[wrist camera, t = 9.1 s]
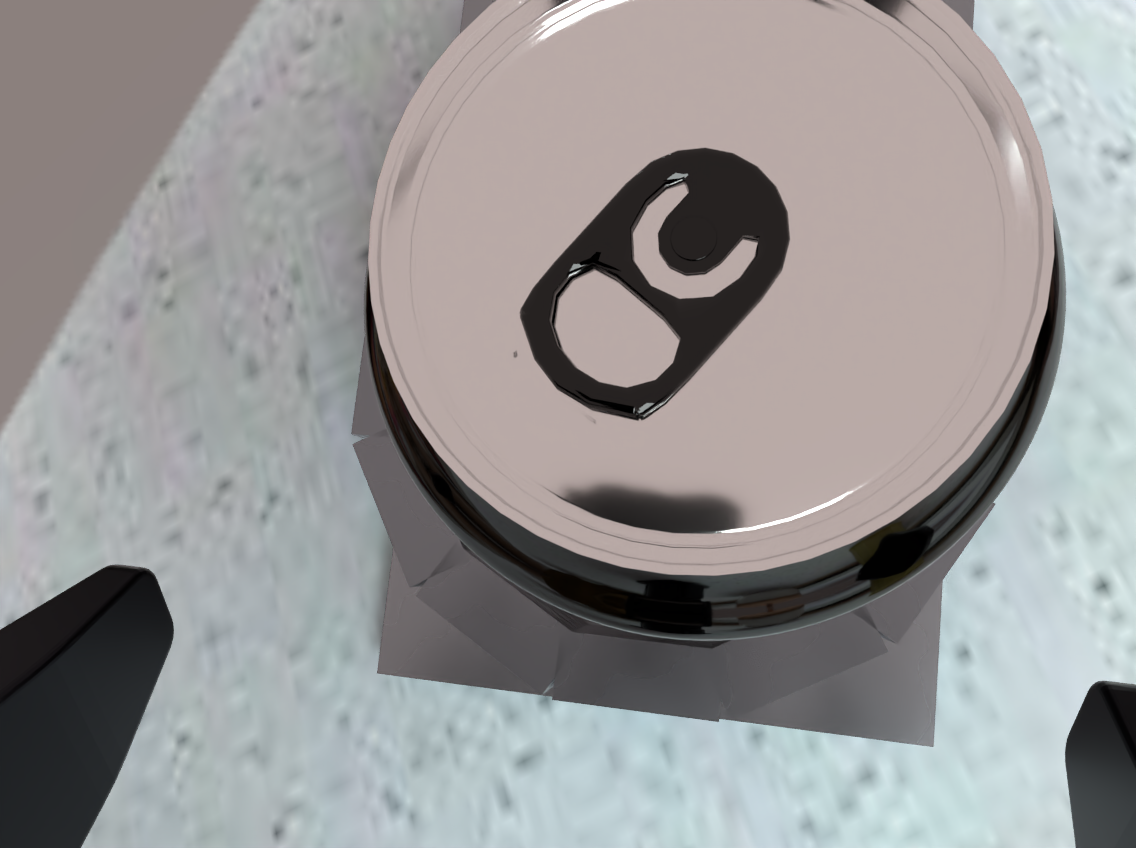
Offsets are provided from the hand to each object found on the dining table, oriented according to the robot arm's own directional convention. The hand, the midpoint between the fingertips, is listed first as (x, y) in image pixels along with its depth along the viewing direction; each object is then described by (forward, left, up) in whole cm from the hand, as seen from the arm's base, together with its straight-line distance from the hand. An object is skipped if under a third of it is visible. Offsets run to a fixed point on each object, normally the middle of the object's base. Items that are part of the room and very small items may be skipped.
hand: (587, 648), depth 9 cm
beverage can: (+3, +2, -10) cm, 11 cm away
